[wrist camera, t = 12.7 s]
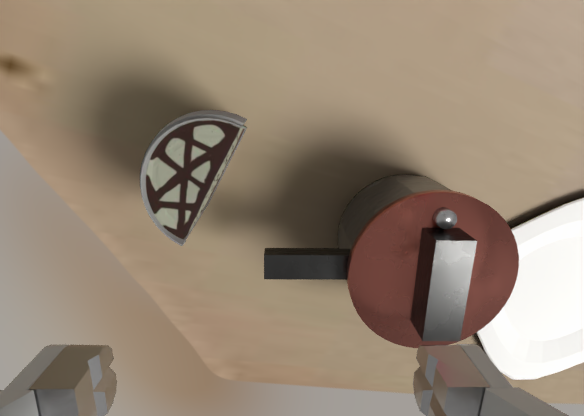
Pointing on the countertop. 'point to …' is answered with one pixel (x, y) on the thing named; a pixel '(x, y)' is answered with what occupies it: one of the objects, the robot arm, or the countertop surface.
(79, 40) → the countertop surface
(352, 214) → the pot
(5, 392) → the robot arm
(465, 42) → the countertop surface
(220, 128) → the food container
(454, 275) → the lid
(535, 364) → the plate
